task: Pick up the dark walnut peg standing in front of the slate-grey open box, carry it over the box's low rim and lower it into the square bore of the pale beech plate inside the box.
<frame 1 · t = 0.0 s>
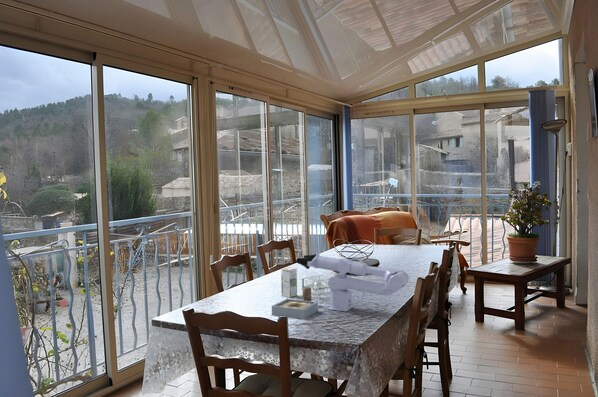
hand: (300, 259, 236), 22 cm above the table, tool horizontal, fingers open, 7 cm apart
syrup box: (289, 296, 253), on the table
bore plate: (295, 308, 222), in the open box, point 1 cm above the table
peg: (307, 305, 235), on the table
open box: (295, 312, 223), on the table
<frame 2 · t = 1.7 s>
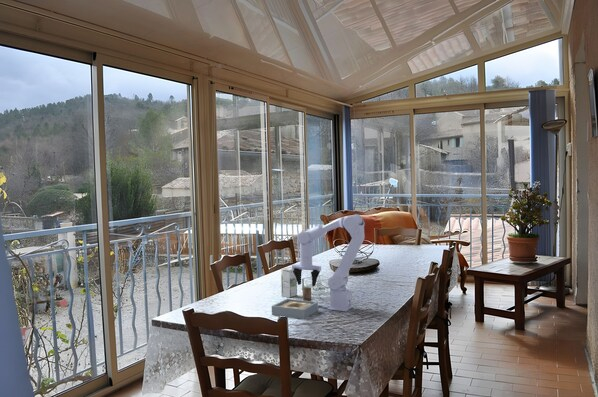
hand: (306, 285, 235), 9 cm above the table, tool pointing down, fingers open, 7 cm apart
nothing on the table moved.
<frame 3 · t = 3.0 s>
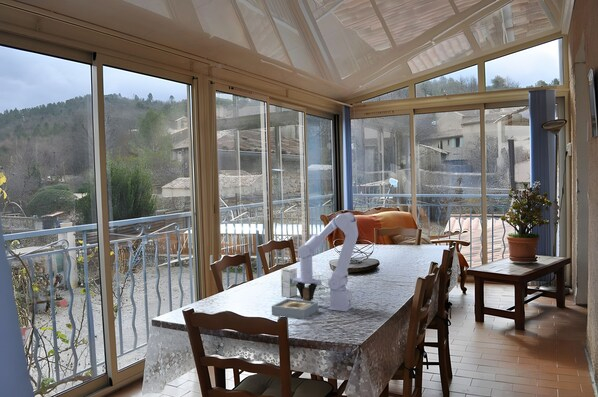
hand: (307, 298, 235), 3 cm above the table, tool pointing down, fingers closed on peg, 4 cm apart
peg: (307, 305, 235), on the table, touching gripper
everything else where it was.
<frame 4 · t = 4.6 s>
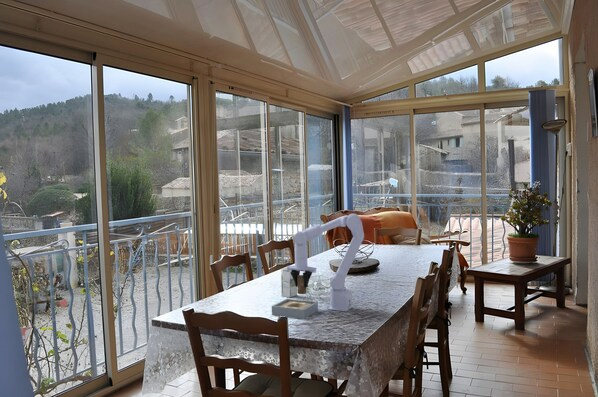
hand: (301, 286, 230), 10 cm above the table, tool pointing down, fingers closed on peg, 4 cm apart
peg: (301, 293, 230), point 7 cm above the table, touching gripper
everything else where it was.
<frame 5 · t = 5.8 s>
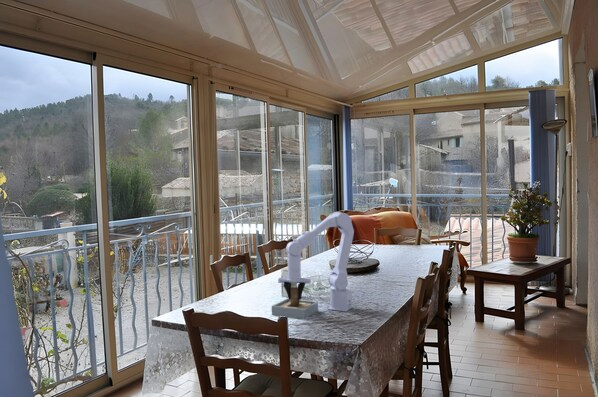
hand: (294, 299, 222), 6 cm above the table, tool pointing down, fingers closed on peg, 4 cm apart
peg: (295, 305, 222), point 3 cm above the table, touching gripper
everything else where it was.
when the fingers open (4 cm above the table, at t = 6.5 s): peg stays where it is, resting on open box.
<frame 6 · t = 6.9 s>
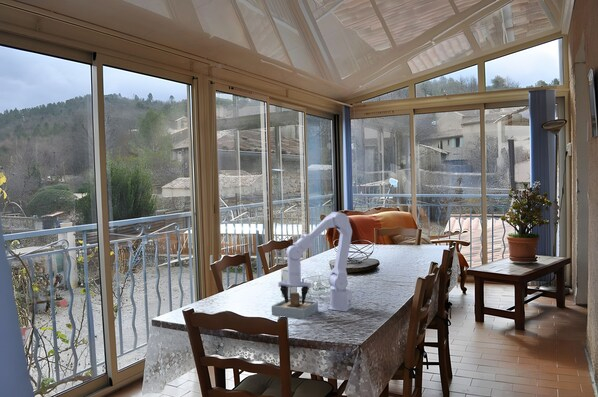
hand: (295, 303, 222), 4 cm above the table, tool pointing down, fingers open, 7 cm apart
peg: (295, 311, 223), point 1 cm above the table, touching open box
everything else where it was.
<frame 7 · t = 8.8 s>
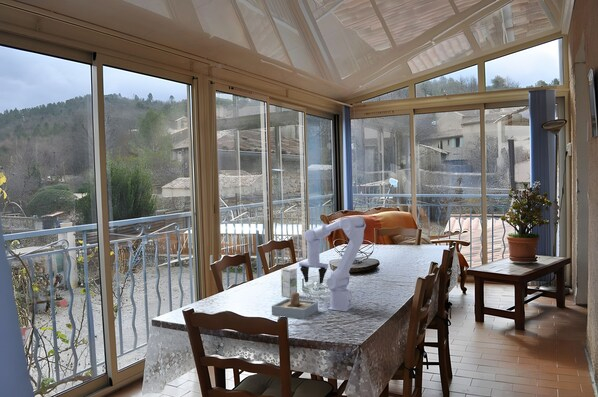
hand: (313, 282, 238), 10 cm above the table, tool pointing down, fingers open, 7 cm apart
nothing on the table moved.
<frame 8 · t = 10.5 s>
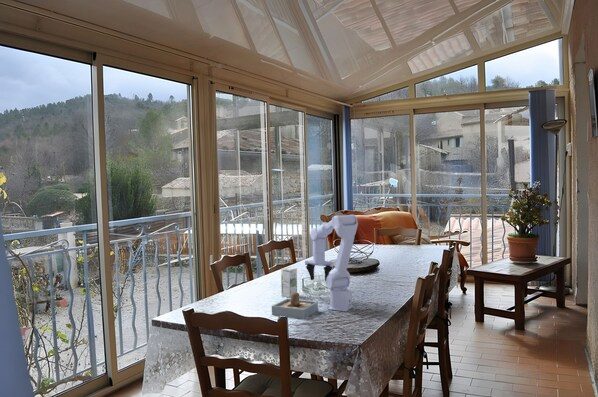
hand: (319, 280, 243), 10 cm above the table, tool pointing down, fingers open, 7 cm apart
nothing on the table moved.
at the end: peg 0.1 cm off-centre on the bore plate, point 0.6 cm above the bore plate's base; peg tilted 0°; the gripper is holding nothing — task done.
